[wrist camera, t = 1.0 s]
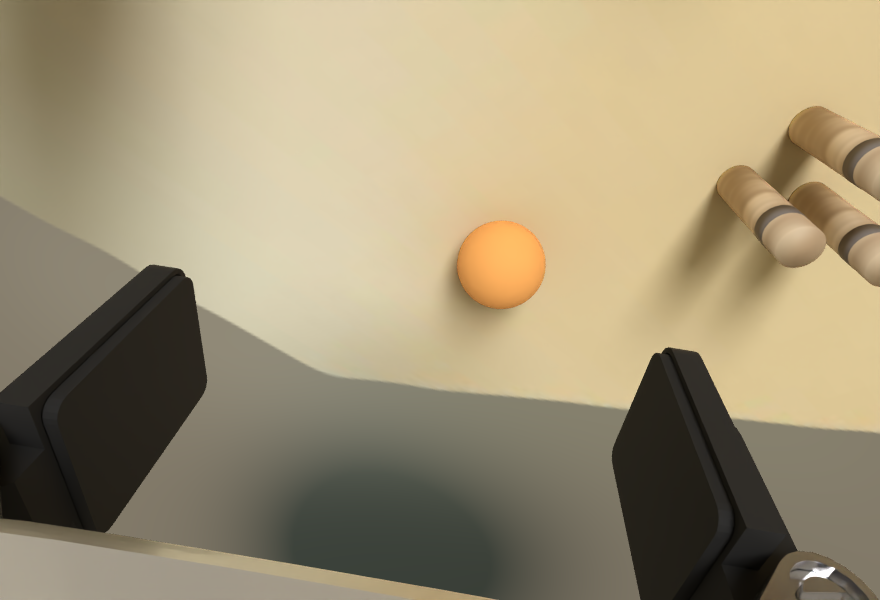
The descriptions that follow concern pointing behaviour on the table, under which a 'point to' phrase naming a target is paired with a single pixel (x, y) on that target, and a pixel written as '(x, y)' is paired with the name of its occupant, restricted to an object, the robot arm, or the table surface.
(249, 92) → the table surface
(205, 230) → the table surface
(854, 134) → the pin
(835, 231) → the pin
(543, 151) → the table surface
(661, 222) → the table surface
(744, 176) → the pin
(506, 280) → the ball
